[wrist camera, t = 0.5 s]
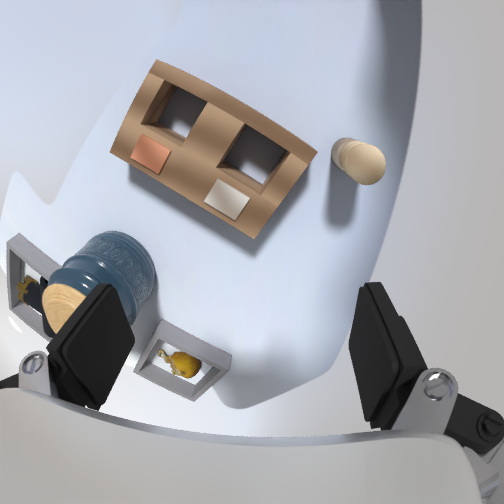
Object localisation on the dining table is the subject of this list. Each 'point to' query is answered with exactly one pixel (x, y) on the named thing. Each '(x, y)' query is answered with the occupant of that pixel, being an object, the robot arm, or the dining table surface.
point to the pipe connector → (35, 299)
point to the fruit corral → (190, 347)
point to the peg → (359, 160)
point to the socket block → (207, 150)
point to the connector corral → (36, 260)
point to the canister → (100, 276)
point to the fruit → (182, 363)
